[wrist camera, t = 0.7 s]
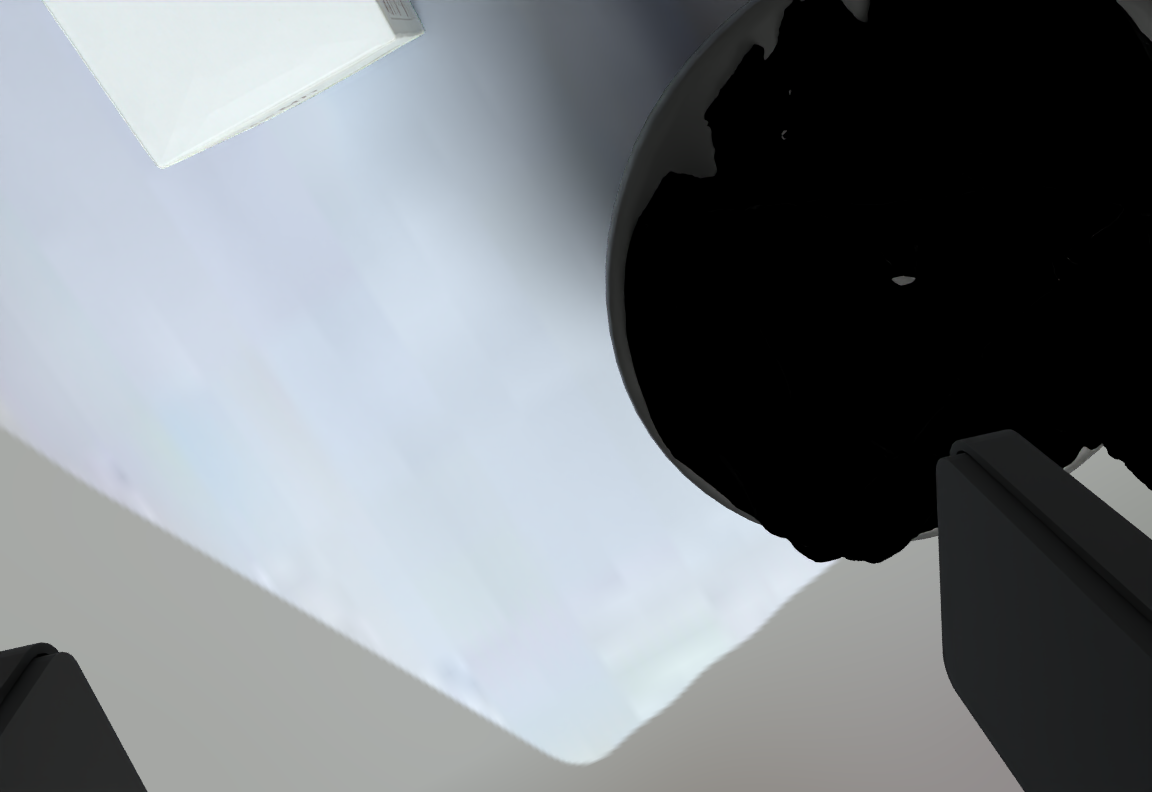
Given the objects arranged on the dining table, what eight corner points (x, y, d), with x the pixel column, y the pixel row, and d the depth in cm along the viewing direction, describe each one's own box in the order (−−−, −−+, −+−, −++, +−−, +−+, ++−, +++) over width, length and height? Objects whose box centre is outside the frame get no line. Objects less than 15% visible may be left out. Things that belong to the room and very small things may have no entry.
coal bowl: (502, 72, 34) (513, 124, 17) (1001, -139, 33) (1556, -311, 16) (669, 491, 42) (792, 817, 25) (1079, 334, 41) (1508, 563, 24)
